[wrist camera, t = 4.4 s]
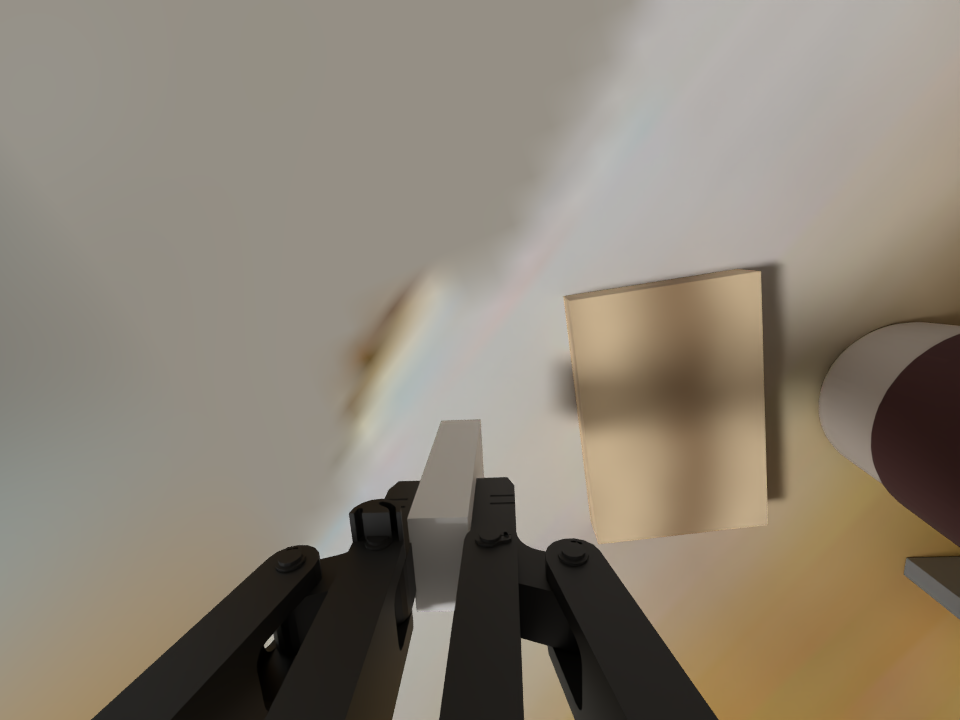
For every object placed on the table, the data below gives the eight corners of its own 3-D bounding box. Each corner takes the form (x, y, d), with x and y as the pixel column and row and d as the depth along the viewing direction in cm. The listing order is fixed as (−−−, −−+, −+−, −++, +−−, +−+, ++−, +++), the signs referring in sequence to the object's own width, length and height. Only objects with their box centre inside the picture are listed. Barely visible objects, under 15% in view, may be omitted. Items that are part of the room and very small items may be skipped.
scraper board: (589, 515, 25) (598, 544, 23) (562, 295, 23) (569, 300, 20) (741, 497, 25) (767, 524, 22) (732, 268, 22) (760, 271, 20)
